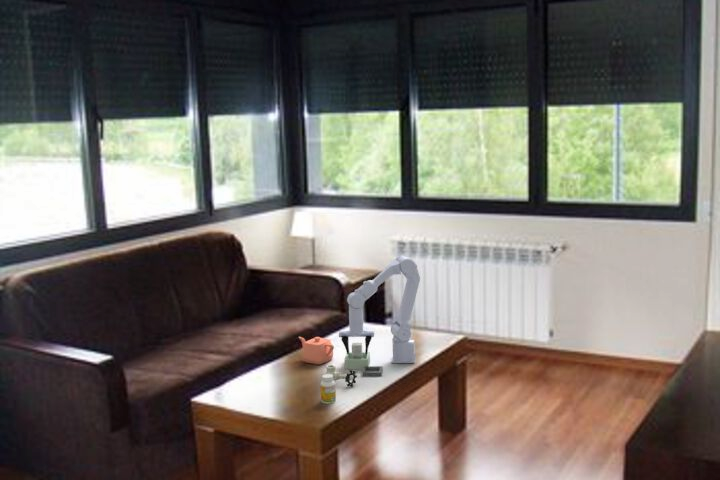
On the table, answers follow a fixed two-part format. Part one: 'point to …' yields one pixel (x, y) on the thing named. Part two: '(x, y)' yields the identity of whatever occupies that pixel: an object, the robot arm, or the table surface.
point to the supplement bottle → (328, 389)
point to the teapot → (317, 350)
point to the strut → (357, 351)
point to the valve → (341, 375)
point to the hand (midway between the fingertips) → (357, 353)
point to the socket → (372, 368)
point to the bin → (357, 361)
